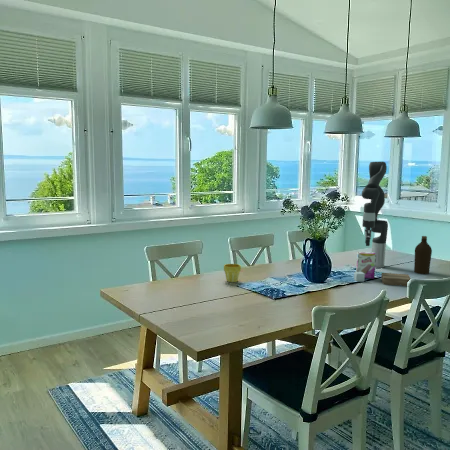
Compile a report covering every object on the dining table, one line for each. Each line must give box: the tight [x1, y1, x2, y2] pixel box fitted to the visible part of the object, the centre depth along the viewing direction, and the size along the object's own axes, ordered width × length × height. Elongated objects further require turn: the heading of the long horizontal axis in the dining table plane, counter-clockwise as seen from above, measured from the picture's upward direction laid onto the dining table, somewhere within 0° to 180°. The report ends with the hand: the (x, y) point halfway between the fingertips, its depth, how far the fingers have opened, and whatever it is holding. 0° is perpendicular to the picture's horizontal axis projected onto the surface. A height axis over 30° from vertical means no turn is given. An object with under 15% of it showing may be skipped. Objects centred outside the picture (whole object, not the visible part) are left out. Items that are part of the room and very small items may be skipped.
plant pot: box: [223, 263, 242, 283], centre depth 286 cm, size 10×10×10 cm
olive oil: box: [413, 235, 433, 275], centre depth 315 cm, size 11×11×25 cm
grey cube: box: [353, 271, 365, 282], centre depth 293 cm, size 5×5×5 cm
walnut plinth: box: [380, 272, 412, 287], centre depth 290 cm, size 14×16×4 cm
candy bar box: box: [355, 251, 376, 279], centre depth 300 cm, size 11×5×16 cm, turn 84°
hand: (367, 244), depth 298 cm, fingers open, 8 cm apart
